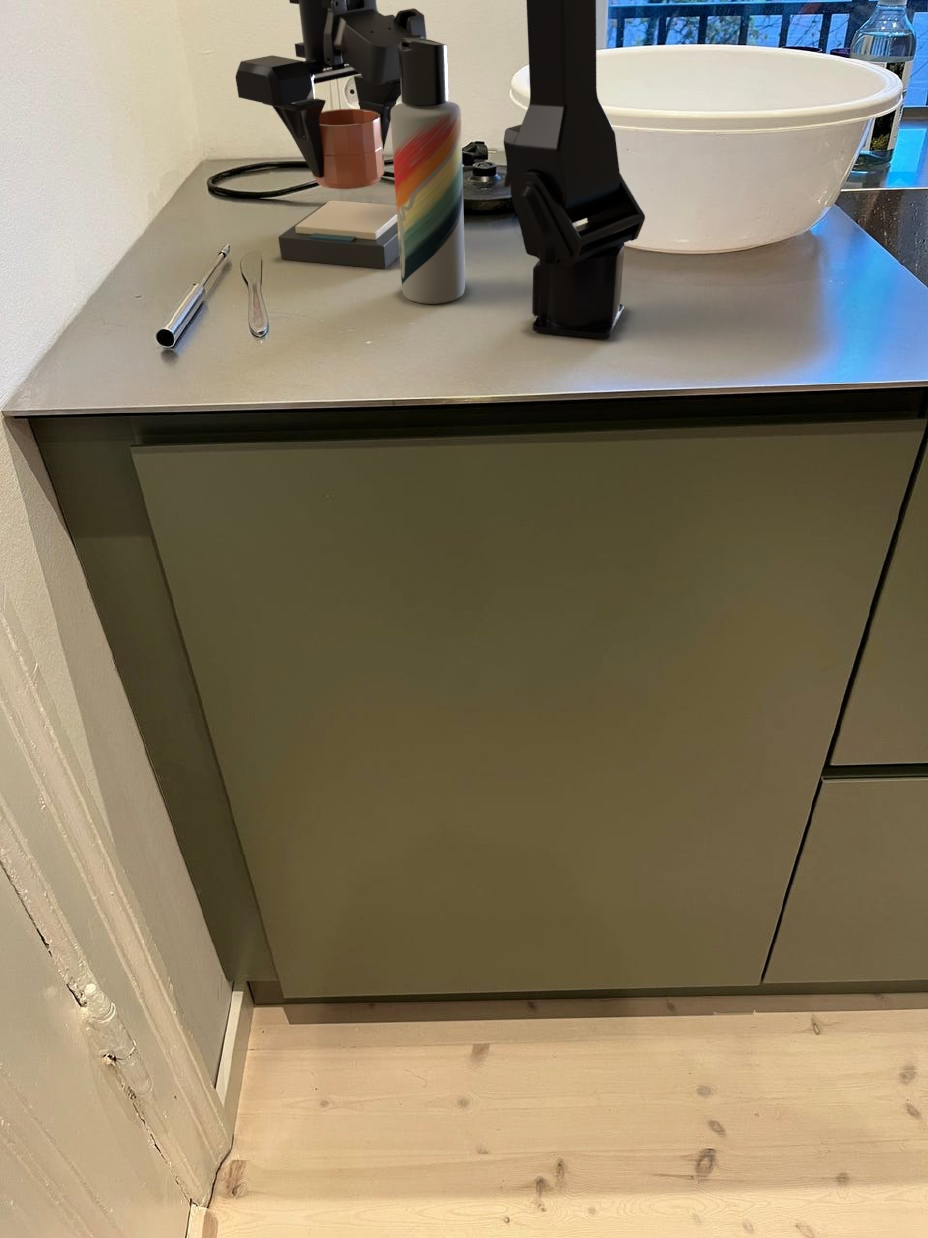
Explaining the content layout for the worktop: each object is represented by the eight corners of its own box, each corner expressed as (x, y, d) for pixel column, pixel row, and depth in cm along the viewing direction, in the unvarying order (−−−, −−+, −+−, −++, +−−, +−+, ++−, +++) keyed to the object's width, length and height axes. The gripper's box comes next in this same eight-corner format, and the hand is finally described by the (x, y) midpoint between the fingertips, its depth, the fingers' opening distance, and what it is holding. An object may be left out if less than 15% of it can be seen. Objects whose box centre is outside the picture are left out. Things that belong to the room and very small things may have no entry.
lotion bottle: (392, 288, 88) (373, 35, 76) (447, 276, 90) (439, 27, 78) (418, 309, 85) (404, 46, 72) (476, 296, 86) (472, 38, 74)
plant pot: (353, 165, 98) (347, 105, 94) (399, 178, 94) (394, 115, 90) (299, 181, 94) (291, 118, 90) (344, 194, 90) (338, 129, 87)
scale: (424, 231, 100) (423, 202, 99) (385, 269, 92) (382, 238, 91) (327, 223, 103) (324, 195, 101) (281, 259, 95) (276, 229, 93)
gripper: (300, -6, 74) (324, 208, 84) (472, -32, 84) (476, 162, 94) (217, -16, 80) (249, 184, 90) (386, -39, 90) (398, 143, 100)
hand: (347, 168), depth 93 cm, fingers closed on plant pot, 7 cm apart
